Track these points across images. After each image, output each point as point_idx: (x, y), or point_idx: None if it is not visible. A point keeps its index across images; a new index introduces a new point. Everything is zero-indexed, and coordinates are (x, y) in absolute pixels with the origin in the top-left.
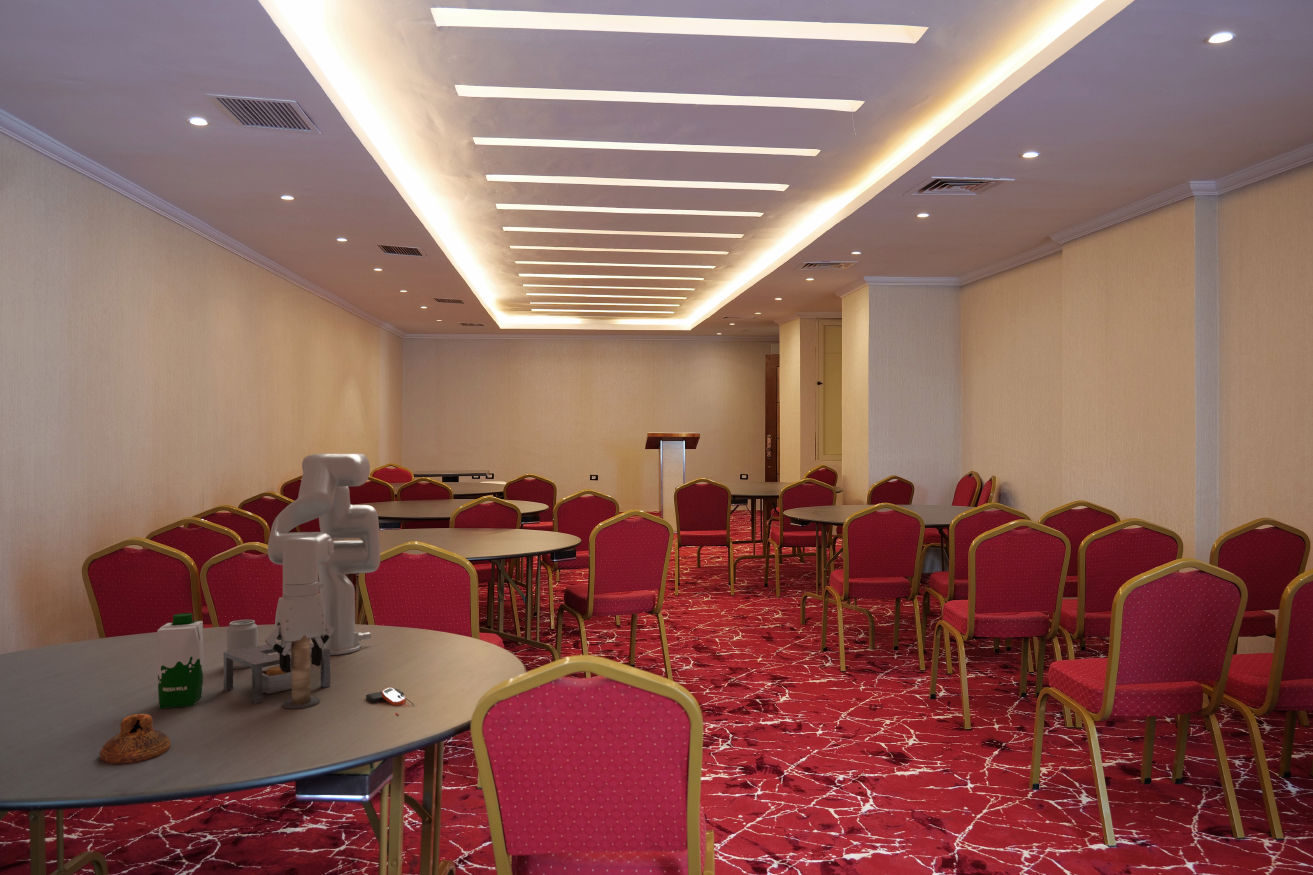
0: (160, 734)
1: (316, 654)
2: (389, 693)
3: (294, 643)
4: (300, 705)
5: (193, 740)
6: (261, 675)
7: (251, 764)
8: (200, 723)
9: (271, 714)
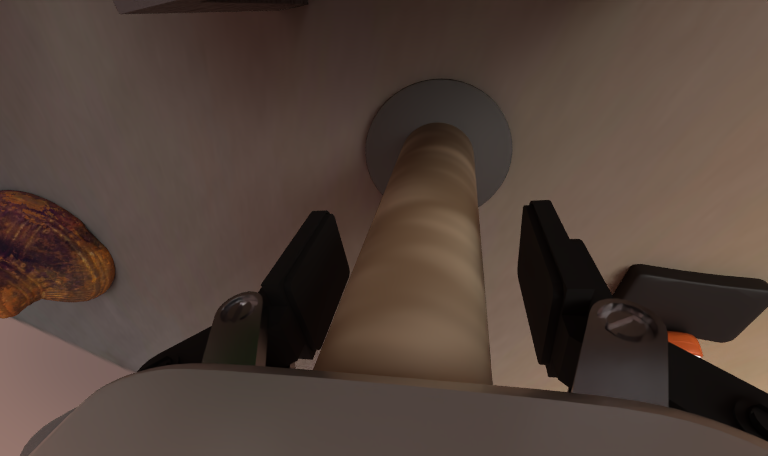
0: (68, 283)
1: (531, 322)
2: None
3: None
4: None
5: (149, 255)
6: (231, 3)
7: None
8: (123, 137)
9: (319, 202)
